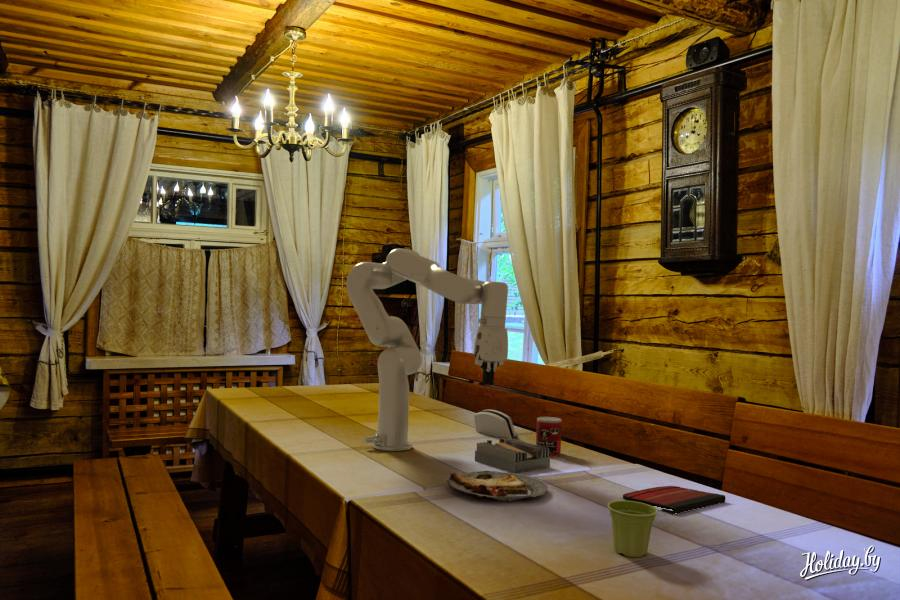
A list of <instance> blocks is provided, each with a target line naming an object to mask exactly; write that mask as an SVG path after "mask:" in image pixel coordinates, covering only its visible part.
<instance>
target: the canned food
mask: <svg viewBox="0 0 900 600" xmlns="http://www.w3.org/2000/svg"><path fill="white" fill-rule="evenodd" d="M562 420H563V419H561V418H559V417H554V416H539V417H536V433H535V436H536V437H535V445H538V446H542V447H545V448H549V457H557V456H556V455H558V456H560V454H561V450H562V448H561V447H562V431H563V430H562V427H563V424H562V423H563V421H562Z"/></svg>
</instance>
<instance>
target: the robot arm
mask: <svg viewBox="0 0 900 600" xmlns="http://www.w3.org/2000/svg"><path fill="white" fill-rule="evenodd" d="M407 280H408V281H410V282H412V283H415V284H417V285H419V286H422V287H423V288H425V289H427V290H429V291H431V292H433V293H435V294H436V295H438V296H441V297H443V298H445V299H448V300H449V301H450V300H451V301H453V302H456V303H458V304H461V305H481V306H480V318H478V320H477V321H478V323H479V326H478V327H477V331H476V334H475V335H476V336H475V341H474V347H473V358H474V364H475V365H477V366H479V367H480V368H481V369H480V370H481V371H482V379H481V380H482V381H481V382H482V385H486V386H493V385H494V383H495V382H494V380H495V379H494V378H495V373H496V372H497V369H498V368H499V366H502V365H504V364H505V362H506V361H507V360H508V356H509V355H508V354H509V336H508V329H507V328H506V321H507V320H506V318H507V317H506V316H507V308H508V307H507V305H508V297H509V296H508V295H509V293H508V292H509V286H508V284H507V283H506V282H503V281H492V280H491V281H490V280H489V281H488V280H487V281H483V280H478V279H474V278H465V277H463V276H460V275H457V274H455V273H453V272H451V271H448V270H446V269H444V268H442V267H441V266H440V263H439V262H437V261H435V260H433V259H429V258H428V257H427V258H426V257H424V256H422V255H420V253H419V252H418V251H416V250H412V249H407V248H400V247H398V248H394V249H392V250H391V251H390V252H389V253H388V254H387V255H386V259H385V262H382V263H380V262H371V261H362V262H359V263H357V264H355V265H354V266H353V267H352V268H351V269H350V271H349V273H348V275H347V277H346V285H345V286H346V287H345V288H346V292H347V295H348V298H349V300H350V302H351V304H352V306H353V308H354V310H355V312H356V313H357V316H358V318H359V320H360V323H361V325H362V326H363V329H364V331H365V333H366V335H367V338H368V339H369V341H370V343H372V344H373V345H374V346H376V347H386V349H384V350H383V351H382V352H381V353H380V354H379V355H378V358H377V365H376V366H377V372H378V373H377V374H378V411H377V412H378V413H377V414H378V417H377V432H374V434H373V435H372V436H365V437H364V438H363V442H364V443H365V444H370V443H372V444H371V446H372V448H373V449H375V450H379V451H388V452H402V451H408V450H409V451H410V450H411V449H412V448H413V443H412V442H411V441H408V438H409V415H410V413H409V412H410V411H409V410H410V383H409V378H408V376H409V375H413V374H415V373H417V372H418V371H419V369H420V368H421V366H422V360H423V359H422V355H421V352H420V351H421V350H420V349H419V347H418V345H417V344H416V342H415V339H414V337H413V335H412V333H411V331H410V328H409V326H408V325H407V324H406V323H405V322H404V320H403V319H401V318H400V317H398V316H394V315H393V316H390V315H389V314H388V313H387V311H386V309H385V307H384V305H383V303H382V301H381V300H380V298H379V297H378V296H377V293H375V291H374V290H385V289H387V288H390V287H391V288H392V287H393V286H395V285H398V284H400V283H402V282H404V281H407Z"/></svg>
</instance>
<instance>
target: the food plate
mask: <svg viewBox="0 0 900 600" xmlns="http://www.w3.org/2000/svg"><path fill="white" fill-rule="evenodd" d="M447 484H448V486H449V487H450V488H452V490H456V491H459V492H462V493H464V494H467V495H472V496H474V497H475V498H476V496H477V497H479V498H482V497H486V498H487V499H493V500H495V501H496V500H497V501H502V502H507V501H508V502H512V501H515V500H522V499H529V498H535V497H538V496H539V497H540V496H543V495H545V493H546V492H547V490H548V484H546V483H545V482H544V481H542V480H540V479H539V478H537V477H533V476H532V477H531V476H529V475H524V474H521V473H512V472H505V471H504V472H502V471H497V470H492V471H491V470H481V471H478V470H477V471H472V472H463V473H458V472H453V473H450V477H449V478H448V480H447ZM528 493H529V494H528Z"/></svg>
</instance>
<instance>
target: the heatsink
mask: <svg viewBox="0 0 900 600" xmlns="http://www.w3.org/2000/svg"><path fill="white" fill-rule="evenodd" d="M501 442H503V443H505V444H508V445H510V446H512V447H515V448H517V449H519V450H522V451H524V452H519V451H515V450H512V449H508V448H504V447H501V446H497V445H495V444H493V441H492V440H491V439H487V441H483V442H482V441H481V442H476V450H475V451H474V462H477V463H480V464H483V465H487V466H490V467H493V468H496V469H500V470H503V471H504V472H505V471H506V472H507V473H515V474H521V473H525V472H531V471H537V469H538V470H542V469H541V468H544V469H547V468H546V467H549V468H551V456H549V448H545V447H542V446H538V445H536V444H533V443H530V442H525V441H522V440H520V439H519V440H518V439H515V438H512V439H511V438H510V439H505V438H501V437H500V438H499V441H498V443H501ZM525 452H527V453H529V454H531V455H528V456H527V453H525Z"/></svg>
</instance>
